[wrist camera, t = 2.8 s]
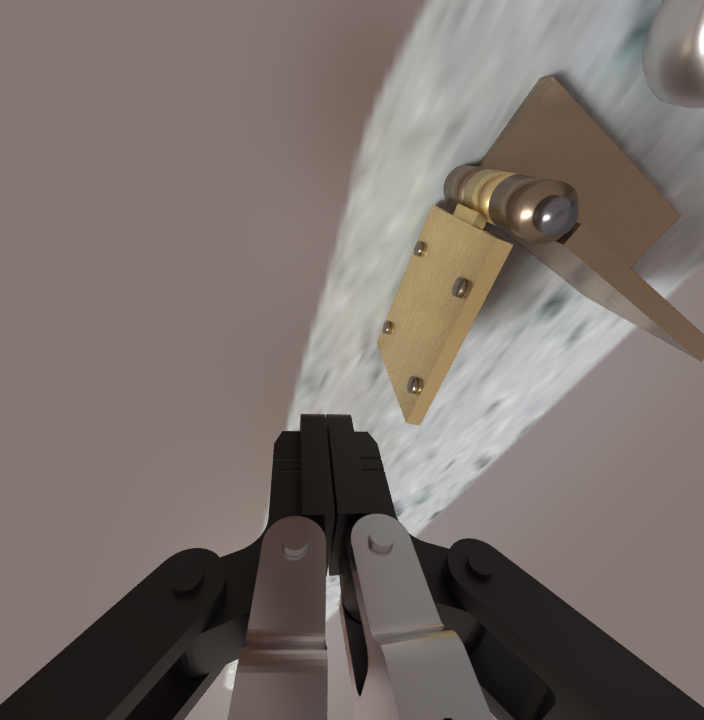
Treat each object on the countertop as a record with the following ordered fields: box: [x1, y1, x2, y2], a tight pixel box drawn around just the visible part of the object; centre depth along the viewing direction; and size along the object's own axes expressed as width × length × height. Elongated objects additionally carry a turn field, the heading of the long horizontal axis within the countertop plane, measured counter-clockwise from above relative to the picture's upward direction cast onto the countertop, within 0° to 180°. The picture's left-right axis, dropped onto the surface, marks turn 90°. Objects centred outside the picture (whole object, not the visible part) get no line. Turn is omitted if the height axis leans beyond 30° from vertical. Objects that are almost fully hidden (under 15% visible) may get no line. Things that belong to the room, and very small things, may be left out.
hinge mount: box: [444, 75, 704, 362], centre depth 20 cm, size 8×14×10 cm, turn 57°
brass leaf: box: [377, 169, 517, 425], centre depth 21 cm, size 12×3×9 cm, turn 162°
